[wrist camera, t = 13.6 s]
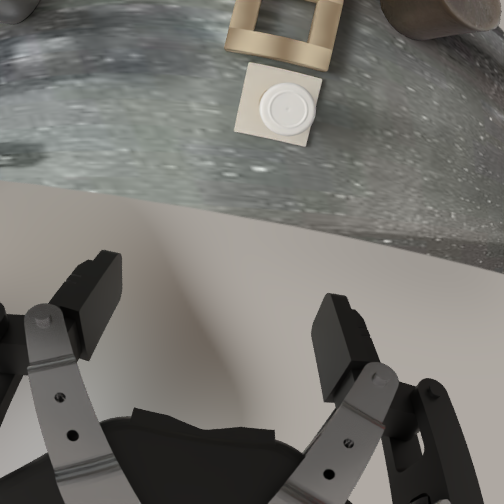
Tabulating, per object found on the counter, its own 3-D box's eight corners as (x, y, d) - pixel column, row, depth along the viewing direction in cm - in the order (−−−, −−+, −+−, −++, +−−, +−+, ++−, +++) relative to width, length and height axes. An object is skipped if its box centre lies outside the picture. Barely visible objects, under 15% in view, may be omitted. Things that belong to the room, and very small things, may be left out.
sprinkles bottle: (275, 79, 33) (285, 70, 21) (304, 104, 34) (328, 108, 22) (250, 106, 35) (247, 112, 23) (279, 130, 36) (290, 148, 24)
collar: (226, 51, 32) (224, 48, 29) (246, -29, 26) (246, -36, 24) (323, 72, 33) (327, 70, 30) (341, -7, 27) (346, -13, 25)
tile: (234, 130, 37) (233, 131, 36) (248, 62, 32) (248, 62, 32) (304, 146, 37) (305, 146, 37) (321, 79, 33) (322, 79, 33)
